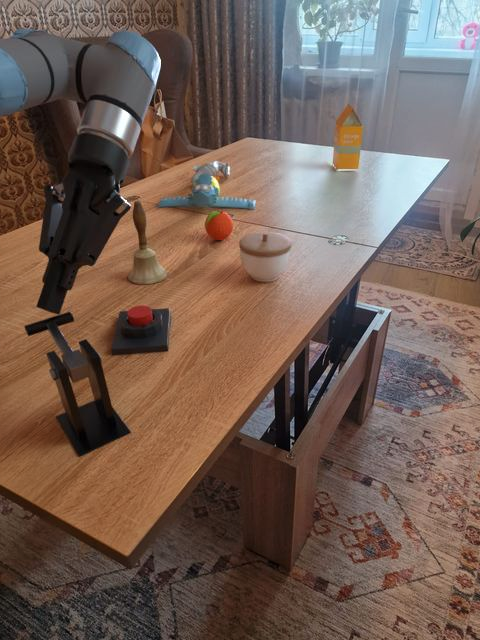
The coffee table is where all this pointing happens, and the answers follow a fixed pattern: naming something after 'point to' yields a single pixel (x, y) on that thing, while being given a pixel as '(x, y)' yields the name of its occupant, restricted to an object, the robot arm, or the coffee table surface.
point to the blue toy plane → (207, 196)
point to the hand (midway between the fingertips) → (48, 310)
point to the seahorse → (211, 169)
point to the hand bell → (144, 254)
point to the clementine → (219, 225)
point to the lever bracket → (87, 405)
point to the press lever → (62, 345)
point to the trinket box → (265, 255)
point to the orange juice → (347, 140)
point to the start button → (140, 315)
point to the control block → (142, 334)
